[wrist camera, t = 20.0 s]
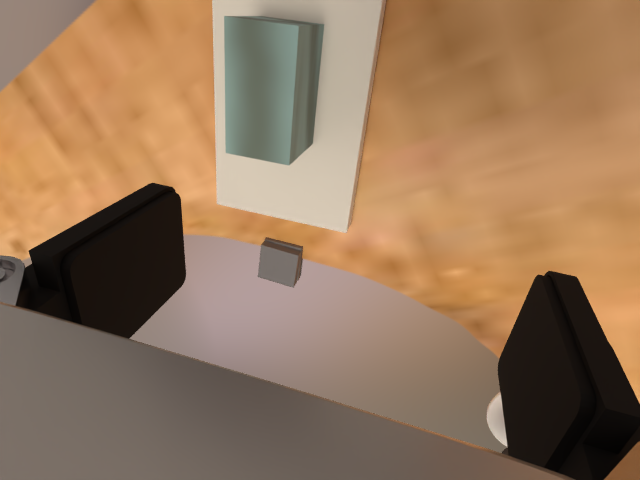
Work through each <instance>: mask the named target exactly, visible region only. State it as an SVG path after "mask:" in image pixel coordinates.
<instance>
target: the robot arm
mask: <svg viewBox="0 0 640 480" xmlns="http://www.w3.org/2000/svg"><path fill="white" fill-rule="evenodd" d="M29 254H30V257H31V260H32V264H31V265H29V266H27V267H26V268H25V265H24V263H23V262H22V261H21V260H20V259H17V258H15V257H11V256H0V480H640V404H639V402H638V400H637V398H636V395H635V393H634V391H633V389H632V387H631V385H630V383H629V381H628V379H627V377H626V375H625V373H624V371H623V369H622V367H621V364H620V362H619V360H618V358H617V356H616V354H615V352H614V350H613V348H612V346H611V345H610V344H609V342H608V341H607V338H606V336H605V334H604V332H603V330H602V328H601V326H600V324H599V322H598V320H597V318H596V316H595V313H594V311H593V309H592V307H591V305H590V303H589V301H588V299H587V297H586V295H585V293H584V291H583V288H582V286H581V284H580V282H579V280H578V278H577V277H575V276H571V275H566V274H562V273H557V272H553V271H548V272H547V273H546V274H545V275H544V276H543V275H537V276H536V278H535V279H534V281H533V284H532V286H531V288H530V290H529V293H528V295H527V297H526V300H525V302H524V304H523V306H522V309H521V311H520V313H519V315H518V318H517V320H516V322H515V324H514V327H513V329H512V331H511V334H510V336H509V338H508V340H507V343H506V345H505V347H504V349H503V352H502V354H501V356H500V359H499V363H498V377H499V385H500V392H501V400H502V408H503V416H504V423H505V431H506V439H507V447H508V454H509V456H508V455H505V454H502V453H499V452H496V451H493V450H490V449H487V448H483V447H480V446H477V445H474V444H471V443H467V442H464V441H461V440H458V439H455V438H451V437H448V436H445V435H442V434H439V433H436V432H432V431H429V430H426V429H423V428H419V427H416V426H413V425H410V424H407V423H403V422H400V421H396V420H393V419H390V418H387V417H384V416H380V415H377V414H374V413H371V412H368V411H364V410H361V409H358V408H355V407H352V406H348V405H345V404H342V403H339V402H336V401H332V400H329V399H326V398H322V397H319V396H316V395H313V394H310V393H306V392H303V391H300V390H297V389H293V388H290V387H287V386H283V385H280V384H277V383H273V382H270V381H267V380H264V379H260V378H257V377H254V376H251V375H247V374H244V373H241V372H238V371H234V370H231V369H227V368H224V367H221V366H218V365H214V364H211V363H208V362H205V361H201V360H198V359H195V358H191V357H188V356H185V355H181V354H178V353H175V352H171V351H168V350H165V349H161V348H158V347H154V346H151V345H148V344H144V343H141V342H137V341H134V340H131V339H129V338H130V337H131V336H132V335H133V334H134V333H135V332H136V331H137V330H138V329H139V328H140V327H141V326H142V325H143V324H144V323H145V322H146V321H147V320H148V319H149V318H150V317H151V316H152V315H153V314H154V313H155V312H156V311H157V310H158V309H159V308H160V307H161V306H162V305H163V304H164V303H165V302H166V301H167V300H168V299H169V298H170V297H171V296H172V295H173V294H174V293H175V292H176V291H177V290H178V289H179V288H180V287H181V286H182V285H183V283H184V281H185V277H186V269H185V255H184V240H183V225H182V211H181V199H180V196H179V195H178V194H177V193H176V192H175V189H174V188H173V187H169V186H164V185H160V184H155V183H150V184H148V185H146V186H145V187H143V188H141V189H139V190H137V191H136V192H134V193H132V194H130V195H128V196H127V197H125V198H123V199H121V200H119V201H118V202H116V203H114V204H112V205H110V206H108V207H107V208H105V209H103V210H101V211H99V212H98V213H96V214H94V215H92V216H90V217H89V218H87V219H85V220H83V221H81V222H80V223H78V224H76V225H74V226H72V227H71V228H69V229H67V230H65V231H63V232H62V233H60V234H58V235H56V236H54V237H53V238H51V239H49V240H47V241H45V242H43V243H42V244H40V245H38V246H36V247H34V248H33V249H31V250H29Z"/></svg>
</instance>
